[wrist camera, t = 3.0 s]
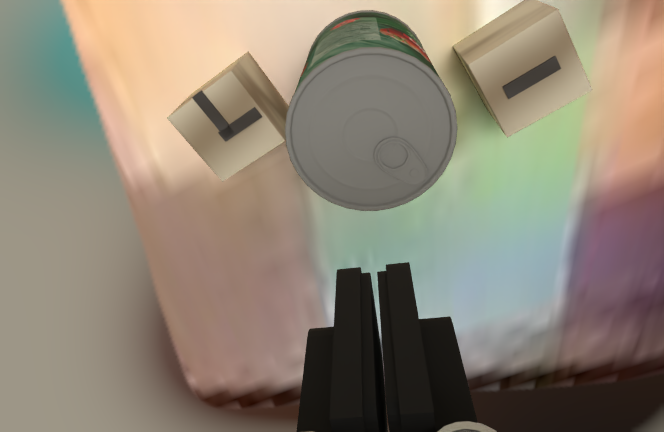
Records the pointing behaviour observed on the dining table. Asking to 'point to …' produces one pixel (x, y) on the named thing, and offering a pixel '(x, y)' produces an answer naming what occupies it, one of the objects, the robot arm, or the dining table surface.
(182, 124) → the marked block two
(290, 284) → the dining table surface
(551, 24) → the marked block one
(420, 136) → the canned tomato
